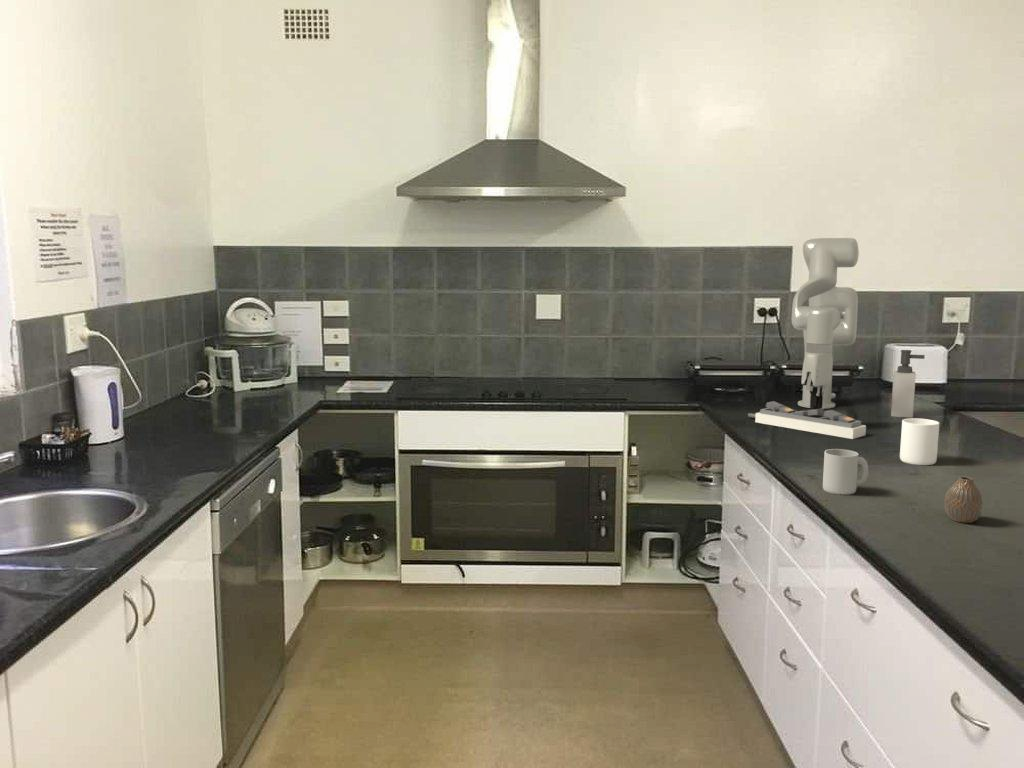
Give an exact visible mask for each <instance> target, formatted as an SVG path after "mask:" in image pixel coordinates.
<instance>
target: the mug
mask: <svg viewBox="0 0 1024 768" xmlns="http://www.w3.org/2000/svg"><path fill="white" fill-rule="evenodd" d="M939 432H940V422H939V421H937V420H933V419H927V418H920V417H919V418H914V417H913V418H910V417H908V418H904V419H902V420H901V436H900V445H899V447H900V449H899V459H900V461H902V462H903V463H906V464H908V465H914V466H932V465H934V464H936V463H937V459H938V445H939Z"/></svg>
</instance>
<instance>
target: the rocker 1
mask: <svg viewBox="0 0 1024 768" xmlns="http://www.w3.org/2000/svg"><path fill="white" fill-rule="evenodd" d="M765 408H770V409H772V410H775V411H776V412H782V413H793V412H795V411H796V410H795V409H793V408H790V407H789V406H786V404H781V403H780V402H776V401H774V400H773V401H769V402H768V401H767V402H766V404H765Z"/></svg>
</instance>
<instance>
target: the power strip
mask: <svg viewBox="0 0 1024 768" xmlns="http://www.w3.org/2000/svg"><path fill="white" fill-rule="evenodd" d="M795 412H799V411H798V410H795ZM795 412H793V413H782V412H776V411H775V410H772V409H770V408H768V407H765V408H761V409H760V410H759V412H755V413H751V412H749V413H747V417H749V418H753V419H755V420H754V422H755V423H759V424H763V425H769V426H776V427H781V428H787V429H792V430H798V431H805V432H810V433H816V434H821V435H826V436H832V437H833V436H834V437H839V438H844V439H848V440H849V439H850V440H855V439H858V438H861V437H865V436H866V431H867V426H866V425H865V424H862V420H858V419H857V420H856V419H855V422H851V423H846V422H839V421H834V420H833V419H831V418H828V417H826V416H823V415H824V414H818V415H810V416H801V415H795V414H794V413H795Z"/></svg>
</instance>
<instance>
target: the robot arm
mask: <svg viewBox="0 0 1024 768" xmlns="http://www.w3.org/2000/svg"><path fill="white" fill-rule="evenodd" d="M802 255H803V259H804V261H805V264H806V266H807V269H808V273H809V274H808V281H806V282H805V283H804V284H803V285H802V286H800V287H799V289H798V290H797V291H796V293H795V295H794V297H793V299H792V307H791V318H790V319H791V325H792V327H793V328H794V329H796V330H798V331H802V333H803V335H802V336H803V344H804V358H803V363H802V372H801V385H802V400H801V399H800V400H799V401H797V405H798V406H799V407H801V408H802V407H803V408H807V409H814V410H815V409H823V408H824V410H825V409H828V410H829V409H833V408H835V407H836V403H835V402H833V401H832V399H835V398H836V393H834V392H832V384H833V381H832V380H833V368H834V367H833V365H834V364H833V363H834V358H833V346H851V345H853V344H854V343H855V342H856V339H857V329H858V328H857V327H858V312H859V310H858V308H859V297H858V292H857V291H856V289H854V287H847V286H840V287H839V286H838V287H837V286H836V285H837V283H838V280H837V279H838V268H854V267H856V265H857V264H858V261H859V255H860V254H859V245H858V242H857V240H856V239H855V238H853V237H826V238H825V237H820V238H810V239H807V240H806V241H804V243H803V245H802ZM806 301H808V305H807V306H806V305H803V304H804V303H805V302H806ZM841 317H843V318H841Z"/></svg>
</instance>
